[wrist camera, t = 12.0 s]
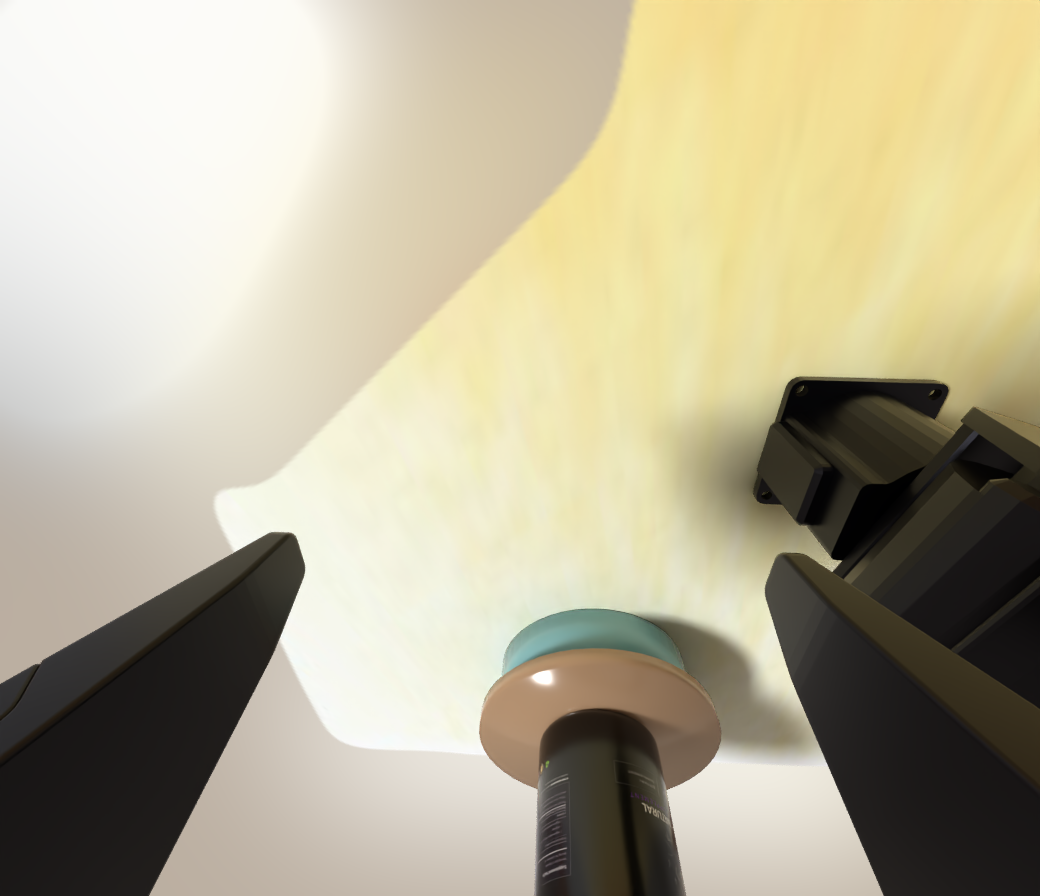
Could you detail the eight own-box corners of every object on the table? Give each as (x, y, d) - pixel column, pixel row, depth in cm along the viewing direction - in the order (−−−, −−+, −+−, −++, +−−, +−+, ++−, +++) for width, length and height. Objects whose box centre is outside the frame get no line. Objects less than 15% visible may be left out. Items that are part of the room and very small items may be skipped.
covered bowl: (719, 603, 27) (749, 673, 23) (677, 735, 33) (694, 807, 29) (485, 591, 27) (474, 657, 23) (490, 723, 34) (483, 791, 30)
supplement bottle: (677, 721, 25) (768, 1099, 14) (626, 779, 28) (671, 1120, 18) (561, 692, 24) (569, 1067, 14) (523, 754, 28) (506, 1095, 17)
